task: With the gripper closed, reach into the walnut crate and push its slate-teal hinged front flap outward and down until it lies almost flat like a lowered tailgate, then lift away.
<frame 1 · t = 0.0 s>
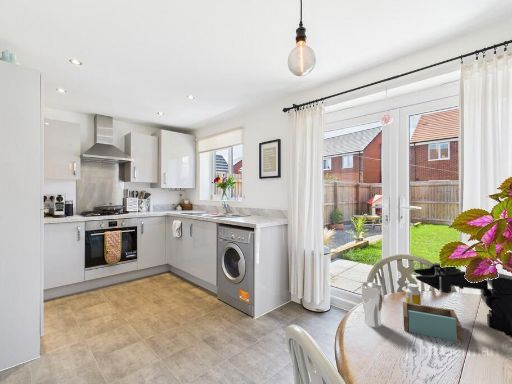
hand: (415, 274, 101), 17 cm above the table, tool horizontal, fingers open, 9 cm apart
tailgate: (431, 325, 85), point 4 cm above the table, hinge at 0.0°
supplement bottle: (413, 308, 108), on the table
crate: (429, 329, 90), on the table
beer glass: (372, 326, 94), on the table
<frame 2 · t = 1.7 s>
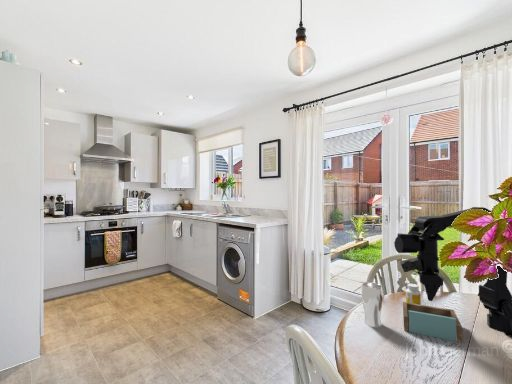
hand: (429, 297, 89), 12 cm above the table, tool pointing down, fingers open, 6 cm apart
nothing on the table moved.
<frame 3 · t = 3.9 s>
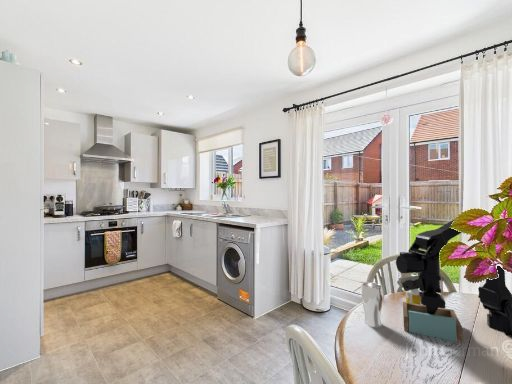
hand: (430, 317, 86), 7 cm above the table, tool pointing down, fingers closed
tailgate: (431, 325, 85), point 4 cm above the table, hinge at 1.6°, touching gripper
everything else where it was.
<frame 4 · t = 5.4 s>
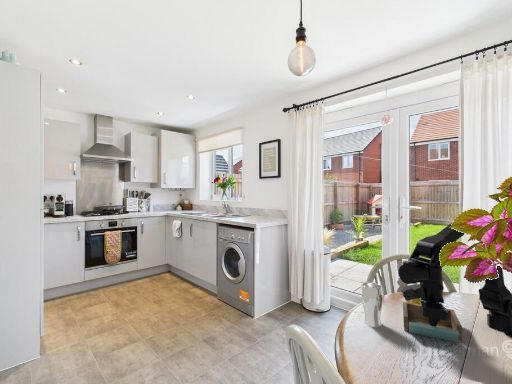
hand: (432, 327, 82), 5 cm above the table, tool pointing down, fingers closed, pressing on tailgate
tailgate: (432, 332, 83), point 3 cm above the table, hinge at 43.3°, touching gripper
everything else where it was.
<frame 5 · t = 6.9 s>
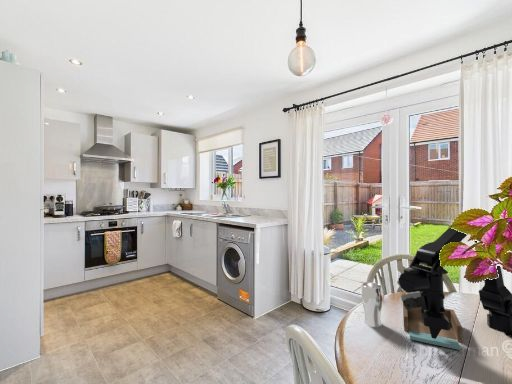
hand: (433, 337, 80), 3 cm above the table, tool pointing down, fingers closed
tailgate: (432, 339, 82), point 1 cm above the table, hinge at 78.0°
everything else where it was.
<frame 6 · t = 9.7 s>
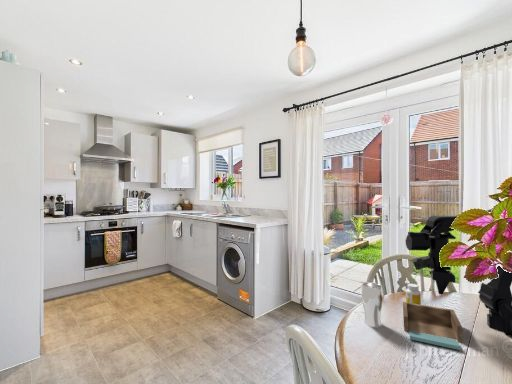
hand: (440, 293, 92), 12 cm above the table, tool pointing down, fingers closed
nothing on the table moved.
at the end: tailgate at +78° (first picture: +0°); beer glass moved 0.2 cm from its start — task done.
